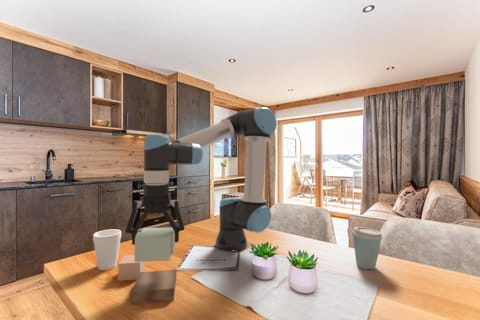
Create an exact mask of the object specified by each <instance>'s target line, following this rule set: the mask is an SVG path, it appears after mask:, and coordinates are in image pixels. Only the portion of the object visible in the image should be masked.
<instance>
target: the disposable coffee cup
mask: <svg viewBox="0 0 480 320" xmlns="http://www.w3.org/2000/svg"><path fill="white" fill-rule="evenodd" d="M352 238H353V245H354V253H355V254H354V255H355V262H356V266H357V267H359V268H360V267H361V268H360V269H362V268H364V269H363V270H365V269H374V270H375V269H376V266H377V261H378V257H379V253H380V252H379V251H380V247H381V244H382V240H383V234H382V233H381V231H379V230H376V229H373V228H369V227H364V226H355V227H354V228H353V229H352Z"/></svg>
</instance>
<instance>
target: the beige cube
mask: <svg viewBox="0 0 480 320" xmlns="http://www.w3.org/2000/svg"><path fill="white" fill-rule="evenodd" d="M117 266H118V270H117V272H118V274H117V276H118V279H117V280H118V282H120V281H136V280H137V278H138V275H139V273H140V272H145V262H135V254H128V255H127V254H125V255H123V257H122V258H121V260H120V261H119V263H117Z"/></svg>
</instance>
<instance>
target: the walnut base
mask: <svg viewBox="0 0 480 320" xmlns="http://www.w3.org/2000/svg"><path fill="white" fill-rule="evenodd" d="M176 286H177V269H163V270H152V271H143V272H140V273H139V275H138V278H137V279H135V282H134V284H133V287H132V289H131V291H130V305H140V304H142V305H143V304H149V303H159V302H169V301H174V300H175V293H176Z"/></svg>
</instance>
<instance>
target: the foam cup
mask: <svg viewBox="0 0 480 320" xmlns="http://www.w3.org/2000/svg"><path fill="white" fill-rule="evenodd" d="M92 236H93V237H92V239H93V241H92V242H93V244H94V245H93V246H94V252H95V257H96V263H97V264H96V266H97V269H98V270H99V271H109V270H111V269H114V268H116V267H117V266H118V259H119V253H120V244H121V239H122V231H121V229H117V228H116V229H115V228H114V229H113V228H112V229H104V230H103V229H102V230H100V231H96V232H94V234H92Z"/></svg>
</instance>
